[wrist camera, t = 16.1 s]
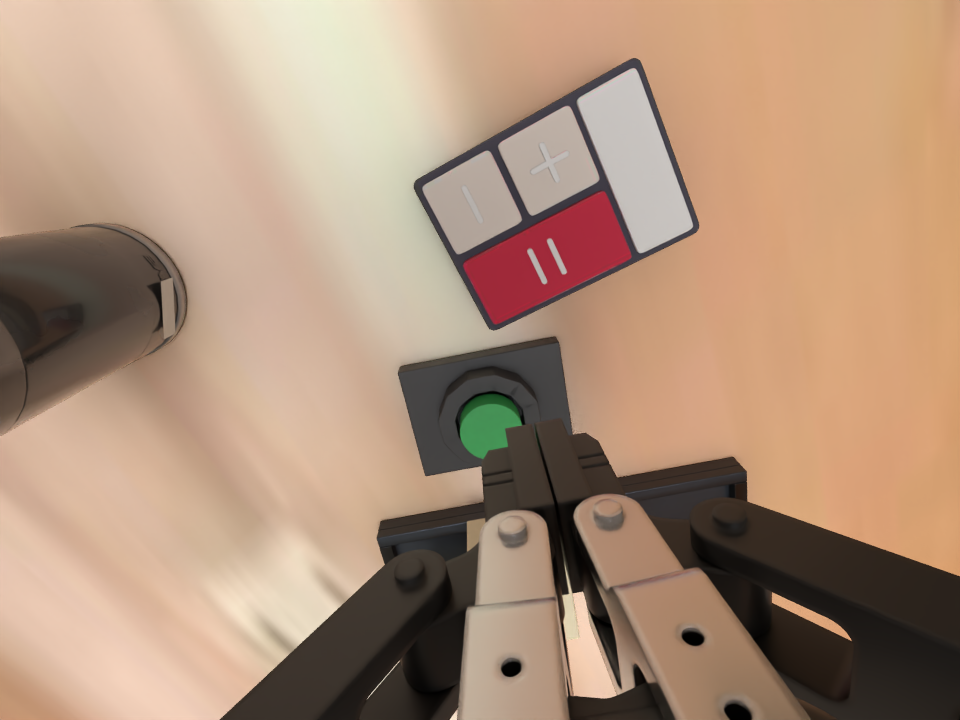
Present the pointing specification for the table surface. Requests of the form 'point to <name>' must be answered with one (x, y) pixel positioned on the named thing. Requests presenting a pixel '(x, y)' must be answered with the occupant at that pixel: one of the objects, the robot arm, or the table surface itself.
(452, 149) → the table surface
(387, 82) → the table surface
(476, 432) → the button
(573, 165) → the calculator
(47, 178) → the table surface
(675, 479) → the rail
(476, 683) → the robot arm
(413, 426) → the button box
